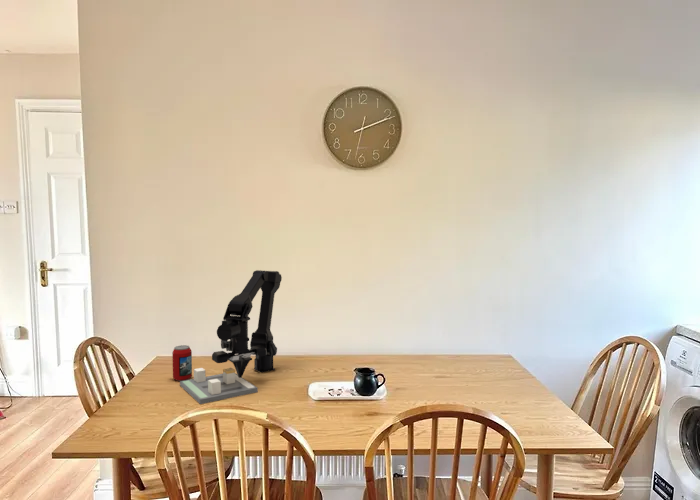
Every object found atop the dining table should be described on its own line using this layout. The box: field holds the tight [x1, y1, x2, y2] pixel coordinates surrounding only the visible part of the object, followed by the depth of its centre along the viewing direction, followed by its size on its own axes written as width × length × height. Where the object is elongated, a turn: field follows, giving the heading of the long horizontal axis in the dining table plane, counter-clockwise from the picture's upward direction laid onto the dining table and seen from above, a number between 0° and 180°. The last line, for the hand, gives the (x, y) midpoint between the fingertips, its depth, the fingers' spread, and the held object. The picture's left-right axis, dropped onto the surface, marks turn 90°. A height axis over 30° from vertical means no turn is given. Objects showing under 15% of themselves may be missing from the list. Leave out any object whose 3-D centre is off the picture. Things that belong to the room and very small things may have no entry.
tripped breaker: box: [222, 367, 236, 384], centre depth 177 cm, size 3×4×4 cm
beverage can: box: [172, 344, 193, 382], centre depth 185 cm, size 7×7×12 cm
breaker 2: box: [208, 379, 221, 395], centre depth 166 cm, size 3×4×4 cm
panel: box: [179, 372, 259, 405], centre depth 175 cm, size 20×22×2 cm
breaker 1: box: [193, 367, 206, 383], centre depth 179 cm, size 3×4×4 cm
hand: (240, 377), depth 180 cm, fingers closed
